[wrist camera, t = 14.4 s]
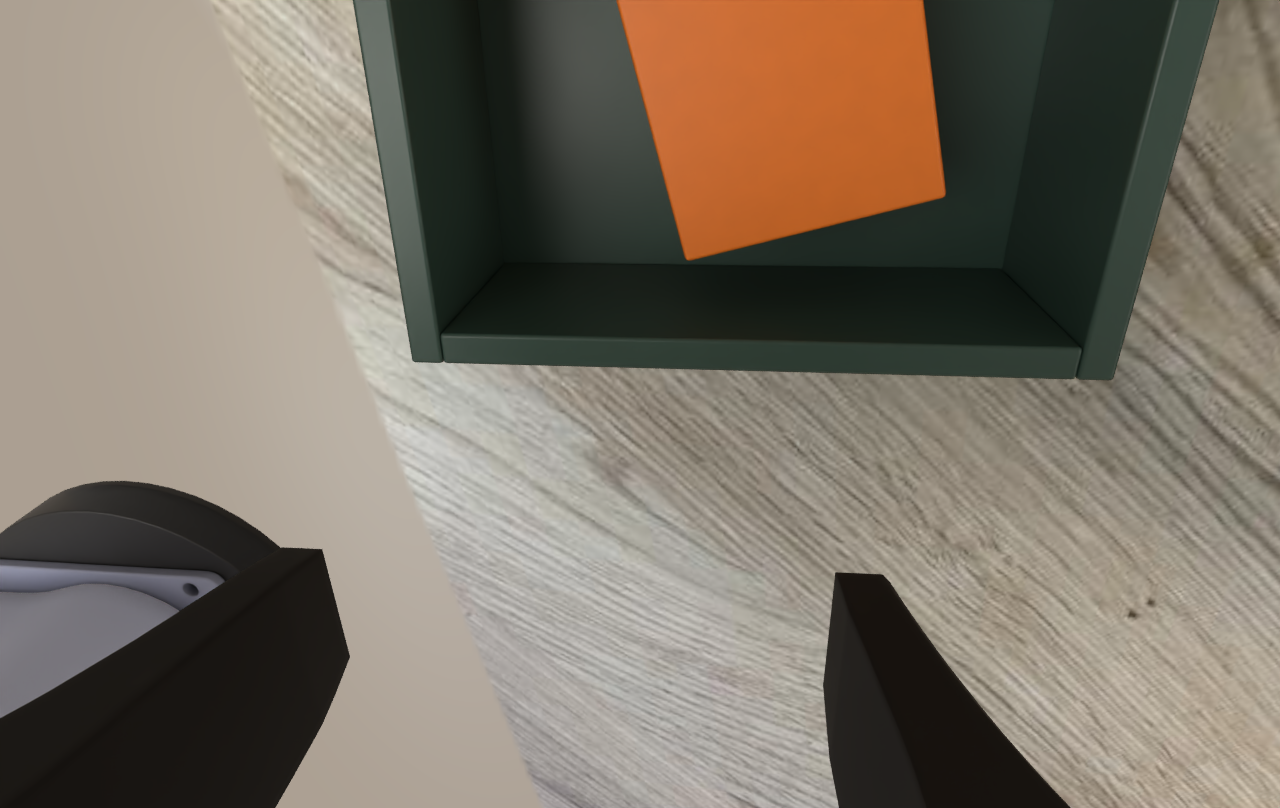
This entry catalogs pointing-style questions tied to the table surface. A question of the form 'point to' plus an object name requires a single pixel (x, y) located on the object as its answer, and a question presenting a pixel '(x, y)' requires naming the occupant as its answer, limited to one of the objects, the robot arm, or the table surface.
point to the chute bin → (791, 266)
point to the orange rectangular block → (785, 113)
